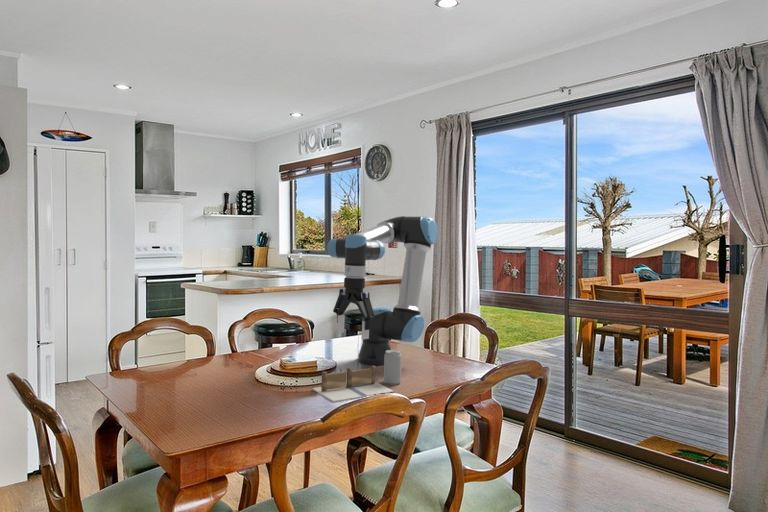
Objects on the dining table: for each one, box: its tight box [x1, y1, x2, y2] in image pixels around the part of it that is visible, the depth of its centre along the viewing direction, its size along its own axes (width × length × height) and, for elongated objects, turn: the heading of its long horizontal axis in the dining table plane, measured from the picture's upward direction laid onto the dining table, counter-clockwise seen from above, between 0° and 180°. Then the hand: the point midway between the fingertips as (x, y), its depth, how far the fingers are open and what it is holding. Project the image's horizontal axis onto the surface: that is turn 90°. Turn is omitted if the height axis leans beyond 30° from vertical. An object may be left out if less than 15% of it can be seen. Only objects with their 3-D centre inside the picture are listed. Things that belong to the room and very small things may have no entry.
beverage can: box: [383, 349, 402, 386], centre depth 203 cm, size 6×6×12 cm
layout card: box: [311, 381, 395, 403], centre depth 192 cm, size 16×24×1 cm, turn 123°
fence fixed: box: [346, 365, 377, 388], centre depth 197 cm, size 2×12×7 cm, turn 123°
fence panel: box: [320, 371, 347, 391], centre depth 191 cm, size 2×10×6 cm, turn 123°
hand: (352, 335), depth 196 cm, fingers open, 13 cm apart
